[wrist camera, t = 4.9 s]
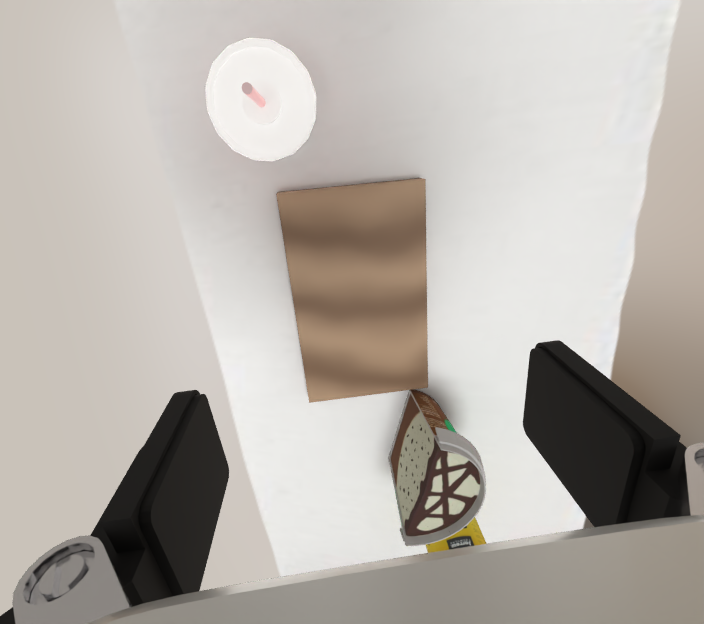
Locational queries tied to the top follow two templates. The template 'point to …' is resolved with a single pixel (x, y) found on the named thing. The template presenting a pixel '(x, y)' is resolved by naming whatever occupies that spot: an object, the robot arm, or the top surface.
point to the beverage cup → (260, 99)
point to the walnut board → (359, 286)
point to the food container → (433, 473)
